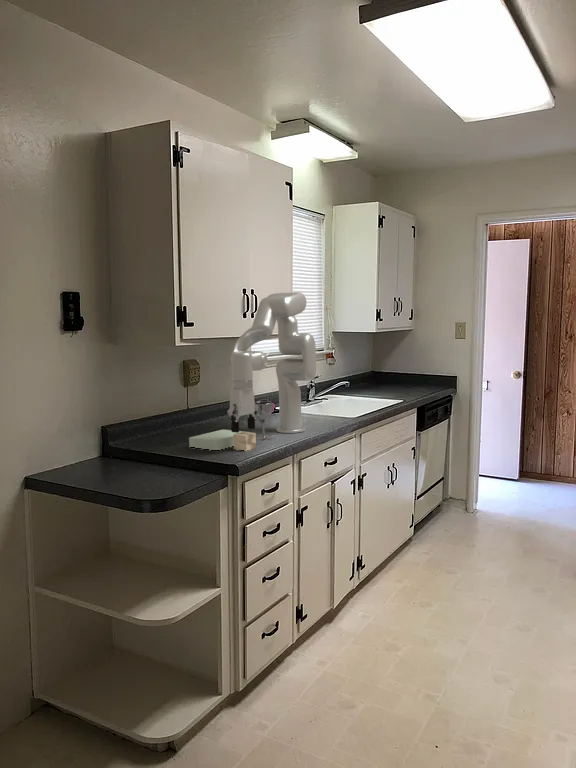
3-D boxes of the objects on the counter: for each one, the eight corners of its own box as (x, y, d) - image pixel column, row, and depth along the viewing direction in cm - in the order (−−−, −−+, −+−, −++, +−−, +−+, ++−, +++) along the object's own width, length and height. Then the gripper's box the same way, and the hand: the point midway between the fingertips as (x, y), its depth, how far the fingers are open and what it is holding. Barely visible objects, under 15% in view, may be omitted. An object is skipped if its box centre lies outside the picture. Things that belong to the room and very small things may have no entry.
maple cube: (243, 447, 241) (243, 431, 240) (256, 448, 237) (255, 433, 237) (233, 450, 236) (233, 434, 235) (246, 451, 232) (245, 435, 232)
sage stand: (222, 438, 258) (222, 429, 258) (249, 441, 250) (249, 432, 250) (189, 447, 242) (189, 437, 241) (217, 451, 234) (216, 440, 233)
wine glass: (249, 439, 256) (248, 402, 255) (264, 436, 262) (263, 400, 260) (262, 441, 251) (261, 404, 249) (277, 438, 256) (276, 402, 255)
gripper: (248, 383, 243) (249, 426, 244) (219, 386, 229) (220, 432, 230) (264, 383, 239) (265, 428, 240) (235, 387, 225) (236, 434, 226)
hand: (243, 430), depth 235 cm, fingers open, 9 cm apart
